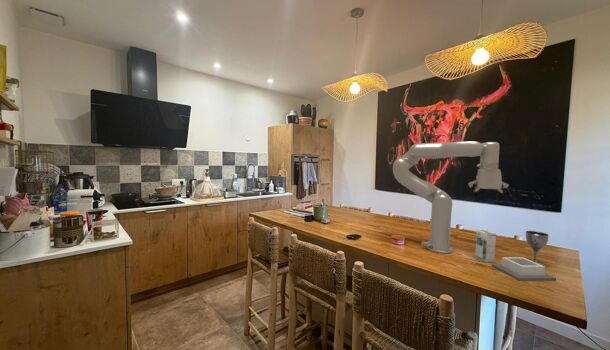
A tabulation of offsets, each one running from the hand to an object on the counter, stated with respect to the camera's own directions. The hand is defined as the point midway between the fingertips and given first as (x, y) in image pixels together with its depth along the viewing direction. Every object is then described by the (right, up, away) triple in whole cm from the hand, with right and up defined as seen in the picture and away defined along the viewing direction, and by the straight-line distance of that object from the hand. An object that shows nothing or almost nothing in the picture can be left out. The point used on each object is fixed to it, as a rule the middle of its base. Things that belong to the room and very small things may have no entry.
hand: (487, 199), depth 127 cm
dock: (+2, -30, -18) cm, 35 cm away
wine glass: (+18, -30, -7) cm, 36 cm away
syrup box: (-4, -30, -4) cm, 30 cm away
